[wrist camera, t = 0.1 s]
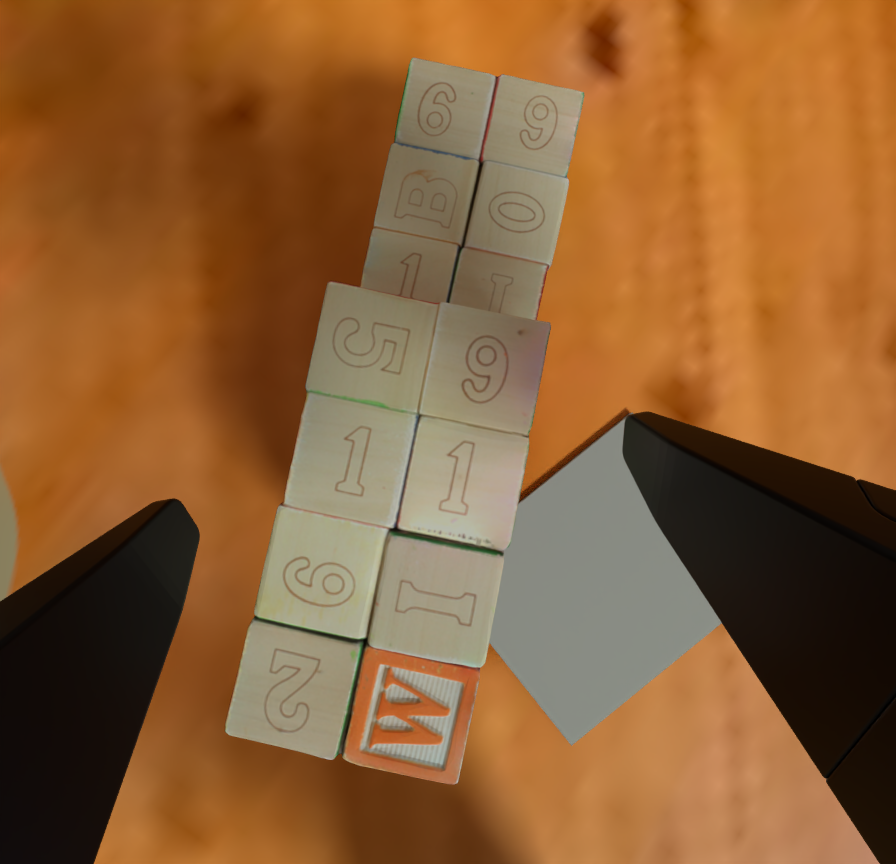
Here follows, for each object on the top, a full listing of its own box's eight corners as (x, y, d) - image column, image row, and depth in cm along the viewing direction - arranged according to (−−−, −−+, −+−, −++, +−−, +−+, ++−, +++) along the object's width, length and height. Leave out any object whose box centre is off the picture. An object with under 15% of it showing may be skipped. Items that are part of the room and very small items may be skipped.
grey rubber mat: (765, 581, 23) (770, 583, 23) (569, 741, 23) (571, 745, 23) (629, 412, 23) (632, 412, 23) (433, 570, 23) (433, 572, 23)
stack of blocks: (426, 206, 23) (401, -58, 11) (535, 230, 23) (632, -8, 11) (340, 582, 23) (213, 744, 11) (452, 608, 23) (457, 800, 10)
